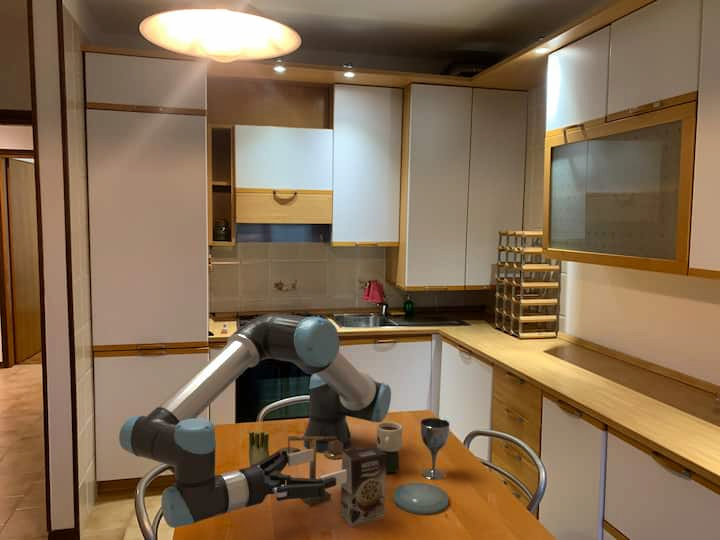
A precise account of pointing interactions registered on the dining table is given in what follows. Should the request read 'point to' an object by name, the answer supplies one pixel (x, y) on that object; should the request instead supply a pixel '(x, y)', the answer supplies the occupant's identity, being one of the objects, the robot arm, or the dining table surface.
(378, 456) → the coffee box
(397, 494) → the dish
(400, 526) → the dining table surface
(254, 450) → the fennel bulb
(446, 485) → the dining table surface
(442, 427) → the wine glass
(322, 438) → the balance
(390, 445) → the character mug
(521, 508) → the dining table surface
